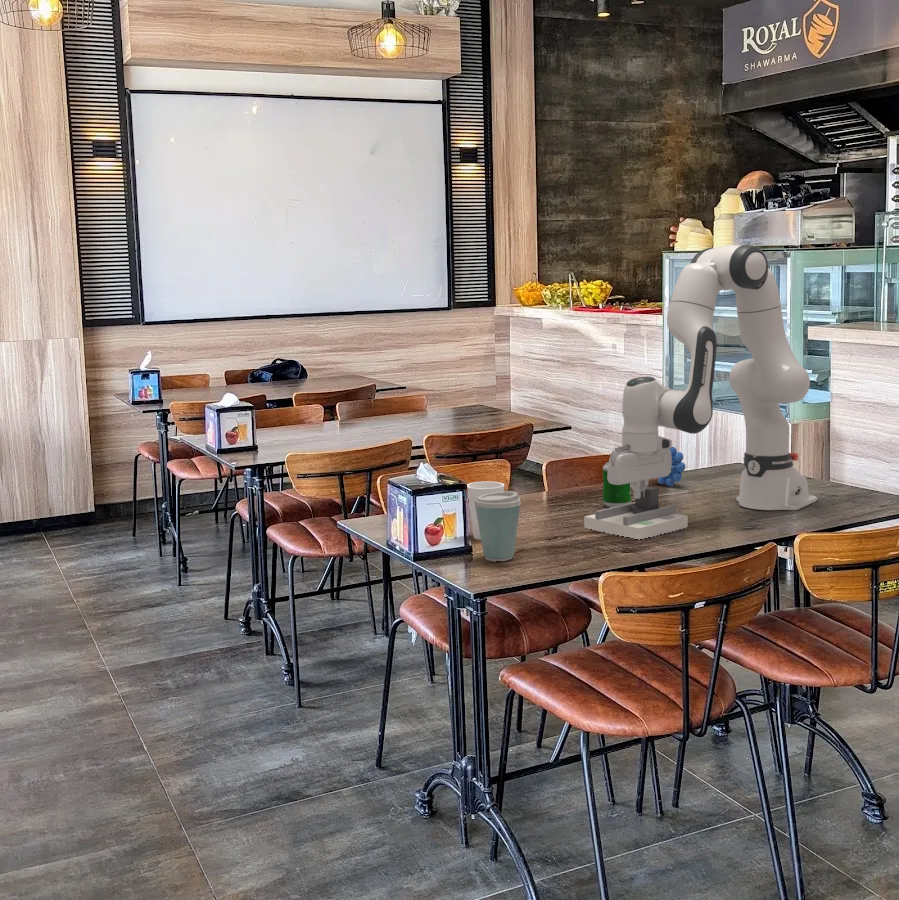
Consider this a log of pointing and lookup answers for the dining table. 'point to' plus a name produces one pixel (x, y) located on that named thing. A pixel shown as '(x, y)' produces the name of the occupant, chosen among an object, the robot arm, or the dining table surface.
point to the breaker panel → (636, 521)
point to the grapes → (674, 469)
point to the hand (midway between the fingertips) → (639, 498)
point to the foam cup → (476, 491)
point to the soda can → (615, 491)
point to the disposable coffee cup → (498, 524)
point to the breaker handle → (647, 501)
